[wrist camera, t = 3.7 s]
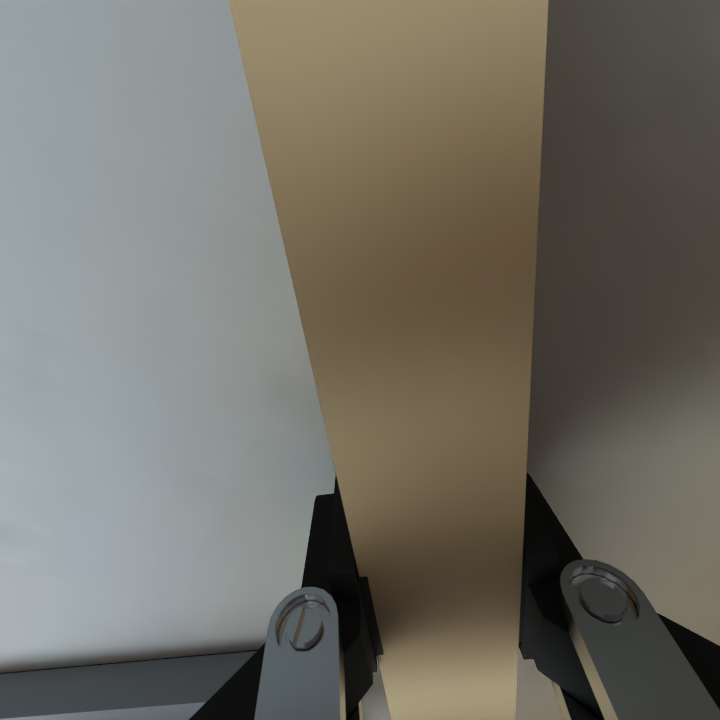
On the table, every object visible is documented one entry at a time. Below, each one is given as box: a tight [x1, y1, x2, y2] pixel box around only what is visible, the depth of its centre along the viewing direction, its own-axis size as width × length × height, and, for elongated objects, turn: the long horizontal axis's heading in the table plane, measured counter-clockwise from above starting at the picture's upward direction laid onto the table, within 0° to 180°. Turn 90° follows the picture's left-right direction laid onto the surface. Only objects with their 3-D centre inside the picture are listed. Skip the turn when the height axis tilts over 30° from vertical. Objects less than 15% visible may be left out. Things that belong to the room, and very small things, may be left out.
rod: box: [229, 0, 549, 720], centre depth 9 cm, size 20×3×4 cm, turn 9°
